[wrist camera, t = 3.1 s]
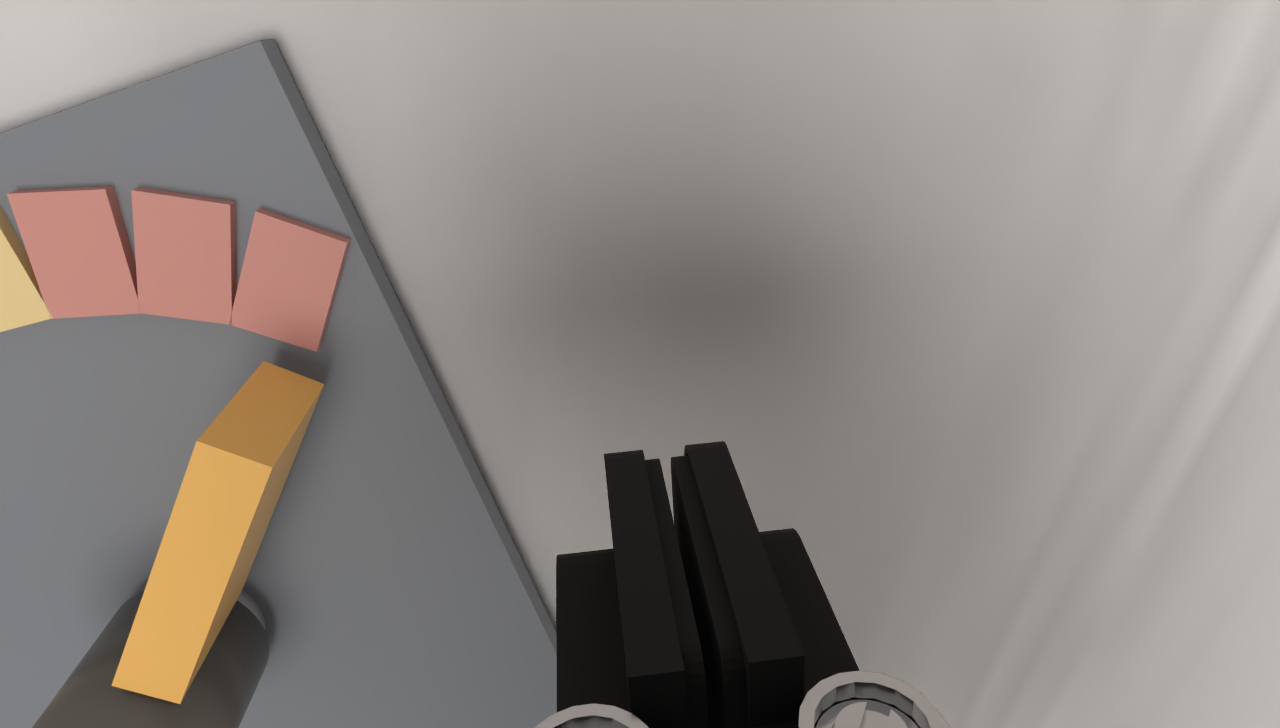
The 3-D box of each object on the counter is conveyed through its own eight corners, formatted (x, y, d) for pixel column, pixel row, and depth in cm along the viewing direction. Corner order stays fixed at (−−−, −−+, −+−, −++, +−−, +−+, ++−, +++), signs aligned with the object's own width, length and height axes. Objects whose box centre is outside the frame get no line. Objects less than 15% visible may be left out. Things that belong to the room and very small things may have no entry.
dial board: (616, 757, 23) (619, 799, 22) (175, 893, 24) (155, 942, 22) (274, 38, 15) (249, 42, 14) (-385, 274, 16) (-467, 297, 14)
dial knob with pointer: (244, 716, 19) (175, 871, 16) (93, 676, 19) (-14, 830, 15) (379, 402, 16) (331, 507, 13) (207, 336, 16) (107, 430, 12)
